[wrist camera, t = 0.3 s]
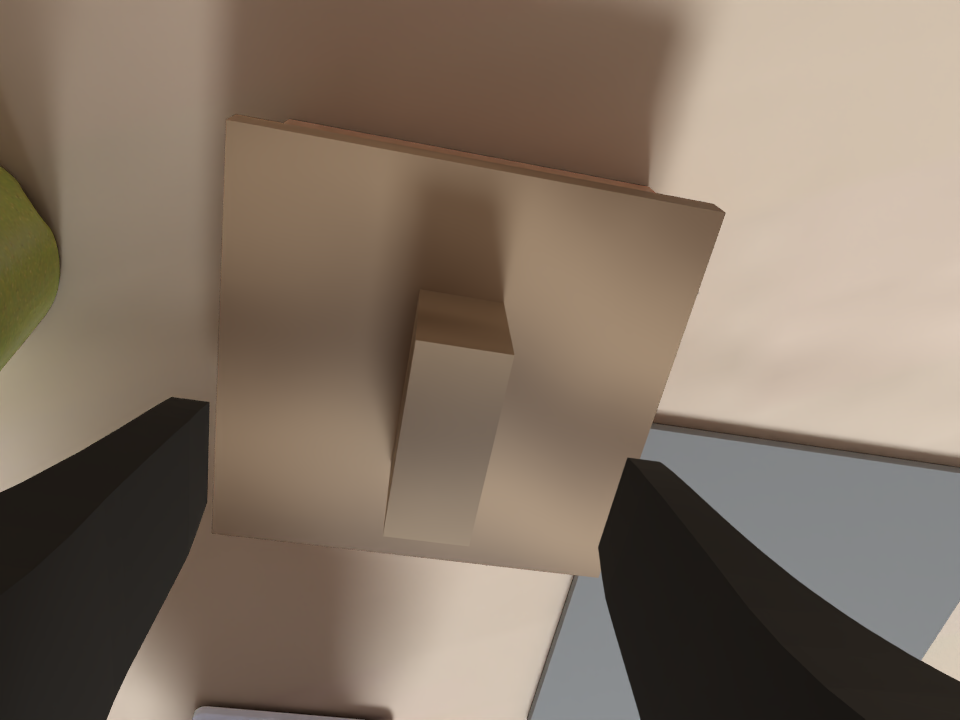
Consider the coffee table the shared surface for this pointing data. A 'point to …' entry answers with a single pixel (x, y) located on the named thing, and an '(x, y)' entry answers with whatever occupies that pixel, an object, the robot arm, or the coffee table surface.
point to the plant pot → (23, 267)
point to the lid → (438, 347)
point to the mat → (785, 551)
